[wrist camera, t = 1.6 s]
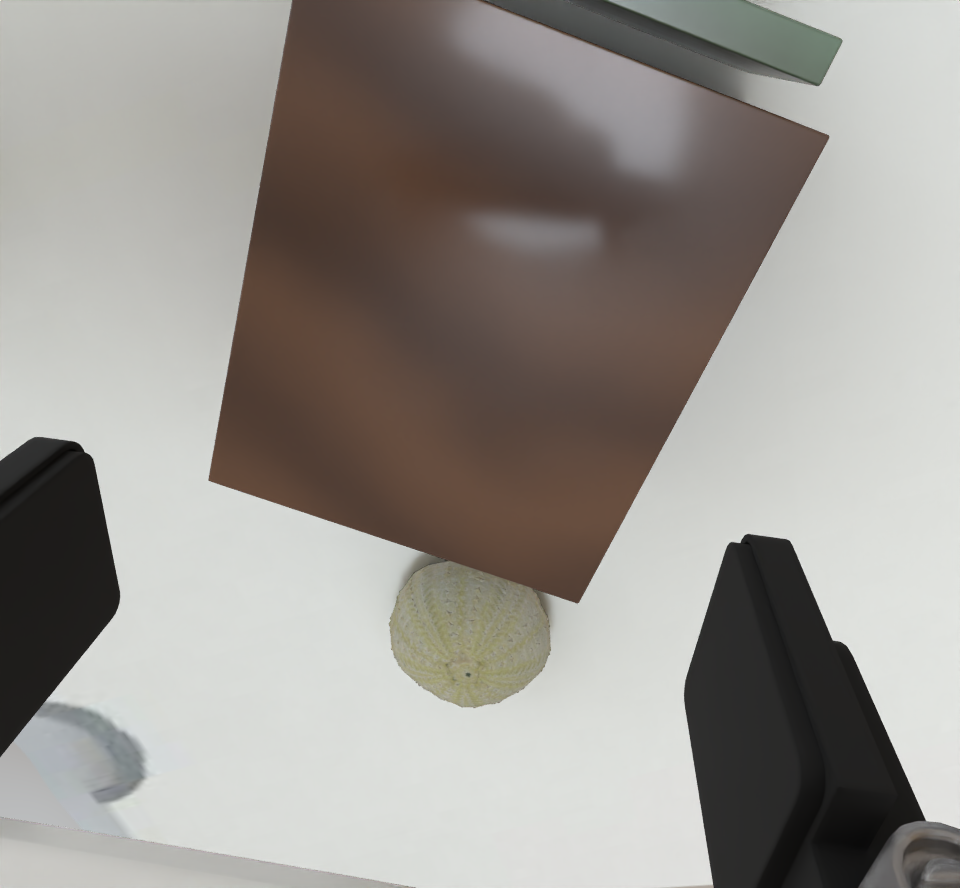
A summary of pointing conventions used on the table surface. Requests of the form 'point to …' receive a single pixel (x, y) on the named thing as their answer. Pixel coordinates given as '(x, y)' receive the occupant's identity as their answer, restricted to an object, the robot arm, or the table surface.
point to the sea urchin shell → (468, 634)
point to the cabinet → (487, 279)
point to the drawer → (730, 34)
